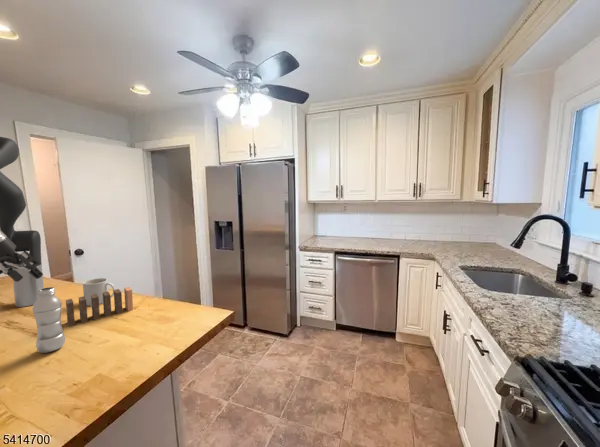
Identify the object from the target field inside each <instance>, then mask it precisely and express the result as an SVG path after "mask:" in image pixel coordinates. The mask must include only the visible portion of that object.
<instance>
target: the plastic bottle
mask: <svg viewBox="0 0 600 447" xmlns="http://www.w3.org/2000/svg"><path fill="white" fill-rule="evenodd" d="M55 294H56V291H55V287H53V286H51V287H44V288H43V289H40V290H38V297H39V299H38V300H37V301H36V302H35V304H34V305H32V309H31V310H32V312H33V316H34V320H35V322H36V330H37V331H36V332H37V333H36V343H35V348H36V350H37V352H39V353H40V354H47V353H51V352H54V351H57V350H59V349H61V348H62V347H63V346H64V345H65V343H66V342H65V341H66V336H65V333H64V330H63V327H62V326H63V325H62V313H61V312H62V304H63V303H62V300H61V299H60V298H58V297H57V296H56V295H55Z"/></svg>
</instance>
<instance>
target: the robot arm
mask: <svg viewBox="0 0 600 447" xmlns="http://www.w3.org/2000/svg"><path fill="white" fill-rule="evenodd" d="M19 155H20V148H19V146H18V144H17V142H16V141H15V140H13V139H11V138H7V137H5V136H4V137H3V136H0V275H2V274H3V275H7V276H8V277H10V279H12V284H13V294H14V304H15V307H17V308H22V307H29V306H33V305H34V304H35V302H36V301H37V300H38V299H39V297H38V290H40V289H43V288H45V287H44V277H43V276H44V273H43V264H42V252H41V251H42V250H41V248H42V246H41V245H42V244H41V243H42V242H41V241H42V240H41V234H40V232H39V231H37V230H14V226H15V223H16V221H17V220H18V218H20V216H21V215H22V214H23V212H24V211H25V210H26V206H27V203H26V199H25V195H24V193H23V190H22V189H21V187H20V186H18V185H17V183H15V182H14V181H12V179H10V178H9V177H8V176H6V175H5V174H4V173H3V172H2V171H1V170H2V169H4V168H5V167H7V166H8V165H11V164H13V163H14V162H15V161H16V160H17V159H18V158H19ZM20 252H21V253H20Z"/></svg>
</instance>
